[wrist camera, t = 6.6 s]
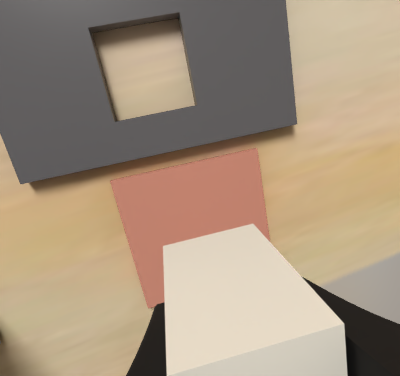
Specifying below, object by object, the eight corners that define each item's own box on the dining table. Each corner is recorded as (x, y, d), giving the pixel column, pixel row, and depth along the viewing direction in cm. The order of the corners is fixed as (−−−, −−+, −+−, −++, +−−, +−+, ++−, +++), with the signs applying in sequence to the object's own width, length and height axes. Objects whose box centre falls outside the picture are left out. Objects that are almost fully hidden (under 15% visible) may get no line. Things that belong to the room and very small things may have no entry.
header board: (27, 180, 15) (20, 184, 15) (-43, 2, 13) (-55, -5, 12) (290, 123, 17) (297, 124, 16) (273, -47, 14) (280, -56, 14)
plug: (183, 322, 12) (203, 497, 7) (162, 245, 11) (166, 375, 6) (265, 299, 13) (351, 447, 7) (252, 223, 12) (344, 323, 6)
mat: (148, 304, 18) (148, 308, 18) (111, 180, 16) (110, 181, 16) (272, 271, 19) (274, 274, 19) (255, 147, 17) (257, 148, 16)
